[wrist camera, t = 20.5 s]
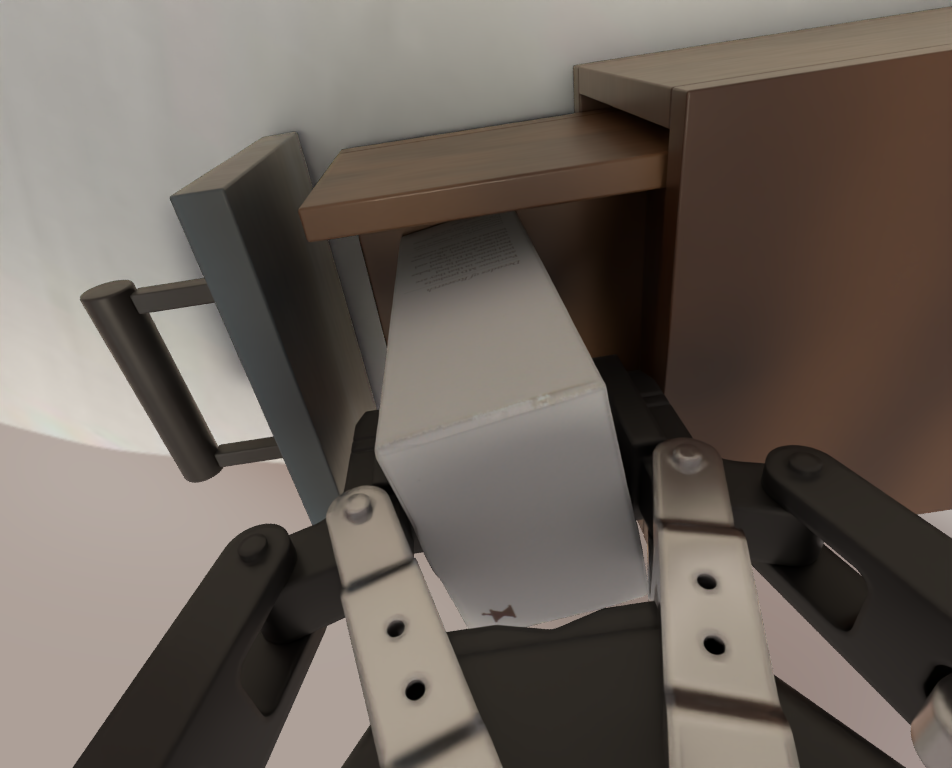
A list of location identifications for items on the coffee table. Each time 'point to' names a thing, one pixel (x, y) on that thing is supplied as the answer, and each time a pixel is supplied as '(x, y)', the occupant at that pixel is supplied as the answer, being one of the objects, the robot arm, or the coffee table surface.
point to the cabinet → (807, 242)
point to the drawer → (384, 269)
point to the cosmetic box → (502, 432)
